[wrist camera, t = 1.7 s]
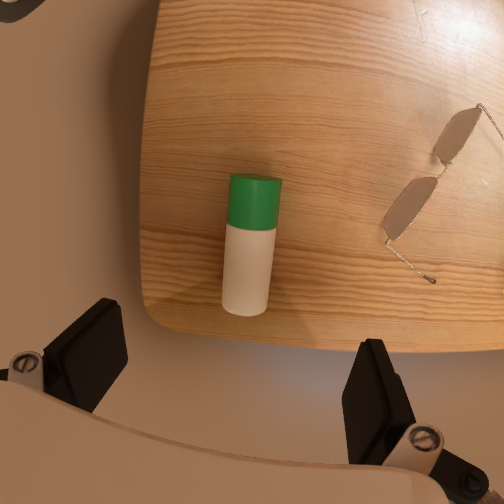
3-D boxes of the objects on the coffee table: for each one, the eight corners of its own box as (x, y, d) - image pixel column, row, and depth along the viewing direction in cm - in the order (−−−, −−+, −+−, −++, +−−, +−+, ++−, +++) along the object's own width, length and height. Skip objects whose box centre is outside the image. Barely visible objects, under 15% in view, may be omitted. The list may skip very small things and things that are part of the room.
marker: (270, 299, 25) (261, 320, 22) (229, 291, 26) (215, 310, 23) (285, 178, 22) (277, 182, 19) (238, 172, 23) (223, 175, 19)
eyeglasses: (459, 103, 18) (487, 100, 14) (508, 165, 19) (535, 172, 16) (371, 231, 23) (389, 249, 19) (430, 281, 24) (450, 303, 20)
